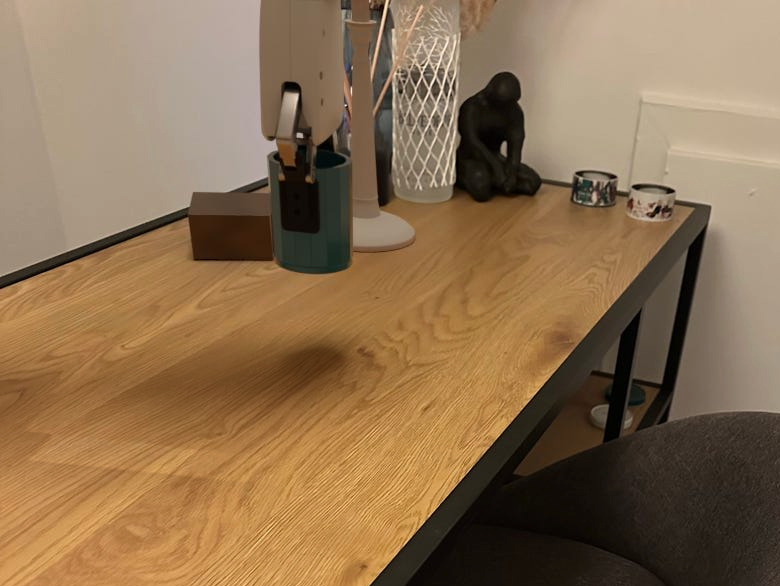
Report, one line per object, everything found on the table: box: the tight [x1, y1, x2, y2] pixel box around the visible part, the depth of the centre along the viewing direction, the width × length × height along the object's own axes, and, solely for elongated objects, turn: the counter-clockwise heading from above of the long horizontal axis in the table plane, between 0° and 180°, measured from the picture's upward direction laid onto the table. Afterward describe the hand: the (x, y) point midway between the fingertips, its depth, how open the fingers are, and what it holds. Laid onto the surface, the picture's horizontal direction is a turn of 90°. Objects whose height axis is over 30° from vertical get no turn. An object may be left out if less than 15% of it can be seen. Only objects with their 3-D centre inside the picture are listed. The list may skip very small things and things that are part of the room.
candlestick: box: [343, 0, 416, 253], centre depth 109 cm, size 13×13×30 cm
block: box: [187, 191, 274, 261], centre depth 110 cm, size 9×9×5 cm
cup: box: [266, 149, 354, 275], centre depth 82 cm, size 7×7×8 cm
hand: (311, 216), depth 82 cm, fingers closed on cup, 7 cm apart
